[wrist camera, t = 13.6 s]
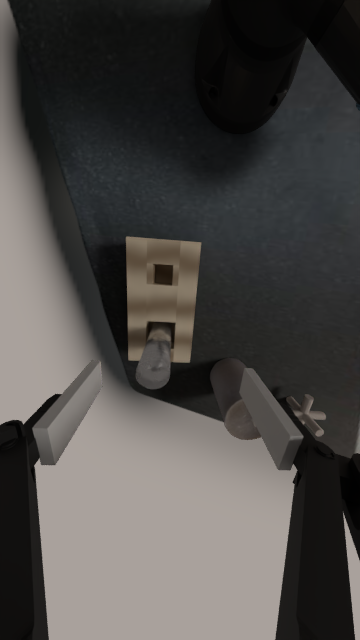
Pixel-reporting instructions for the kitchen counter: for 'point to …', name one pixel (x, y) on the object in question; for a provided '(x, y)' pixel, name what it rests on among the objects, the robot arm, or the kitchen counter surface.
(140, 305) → the hole block
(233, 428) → the pillar candle
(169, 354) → the pin
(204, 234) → the kitchen counter surface
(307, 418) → the pipe connector
